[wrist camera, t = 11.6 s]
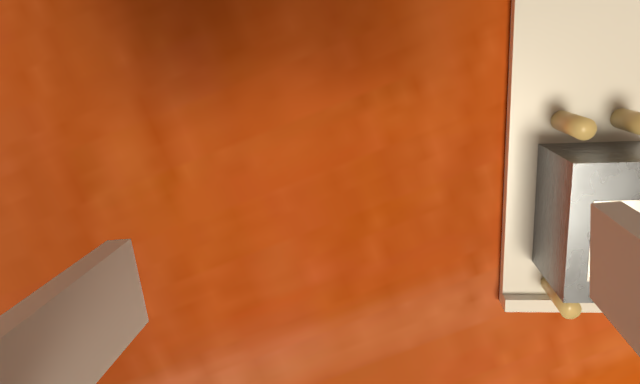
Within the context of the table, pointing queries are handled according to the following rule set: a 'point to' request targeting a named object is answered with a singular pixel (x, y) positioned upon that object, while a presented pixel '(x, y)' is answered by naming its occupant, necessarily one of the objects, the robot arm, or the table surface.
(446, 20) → the table surface
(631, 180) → the block
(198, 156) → the table surface
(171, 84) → the table surface
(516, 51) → the tray
